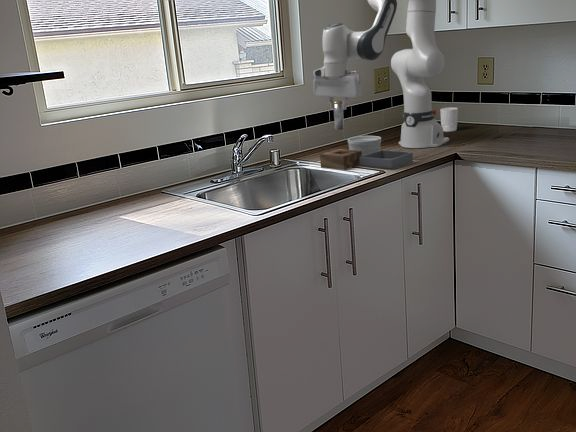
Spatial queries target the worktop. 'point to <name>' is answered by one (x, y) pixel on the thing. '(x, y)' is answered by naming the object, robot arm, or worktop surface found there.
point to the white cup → (449, 119)
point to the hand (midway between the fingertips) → (338, 109)
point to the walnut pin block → (340, 159)
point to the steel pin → (338, 115)
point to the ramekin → (365, 144)
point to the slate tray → (386, 159)
